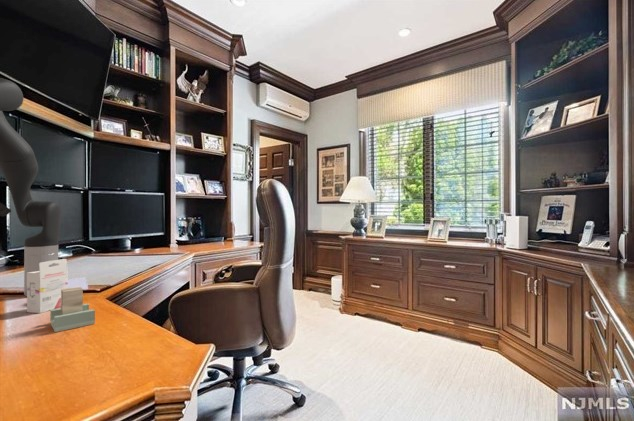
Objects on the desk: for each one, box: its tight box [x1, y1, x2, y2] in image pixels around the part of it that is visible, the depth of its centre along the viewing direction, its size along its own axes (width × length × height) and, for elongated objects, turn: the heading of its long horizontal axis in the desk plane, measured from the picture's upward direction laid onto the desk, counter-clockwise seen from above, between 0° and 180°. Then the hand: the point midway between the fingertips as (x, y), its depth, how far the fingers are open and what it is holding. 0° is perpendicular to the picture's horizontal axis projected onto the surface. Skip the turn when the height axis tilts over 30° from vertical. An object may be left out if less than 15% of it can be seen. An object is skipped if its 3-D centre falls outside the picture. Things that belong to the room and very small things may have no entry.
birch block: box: [60, 287, 84, 315], centre depth 81 cm, size 4×4×8 cm
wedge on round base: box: [68, 276, 89, 290], centre depth 104 cm, size 9×7×13 cm
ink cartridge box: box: [26, 258, 69, 314], centre depth 94 cm, size 9×5×15 cm, turn 168°
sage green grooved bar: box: [49, 302, 96, 333], centre depth 81 cm, size 9×8×4 cm
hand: (7, 214), depth 77 cm, fingers open, 8 cm apart
